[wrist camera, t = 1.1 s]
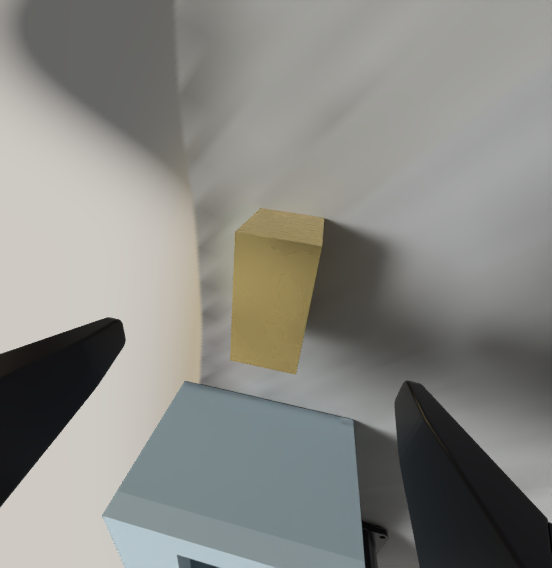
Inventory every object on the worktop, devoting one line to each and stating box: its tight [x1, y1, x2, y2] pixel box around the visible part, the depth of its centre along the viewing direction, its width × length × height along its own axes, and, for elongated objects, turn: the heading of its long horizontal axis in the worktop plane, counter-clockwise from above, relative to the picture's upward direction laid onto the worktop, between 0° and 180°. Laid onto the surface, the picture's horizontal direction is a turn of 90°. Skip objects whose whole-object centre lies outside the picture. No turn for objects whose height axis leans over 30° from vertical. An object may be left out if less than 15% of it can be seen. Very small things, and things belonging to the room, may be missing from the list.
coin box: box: [102, 381, 365, 568], centre depth 18 cm, size 12×12×8 cm
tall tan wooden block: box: [230, 208, 324, 374], centre depth 12 cm, size 3×6×4 cm, turn 173°
